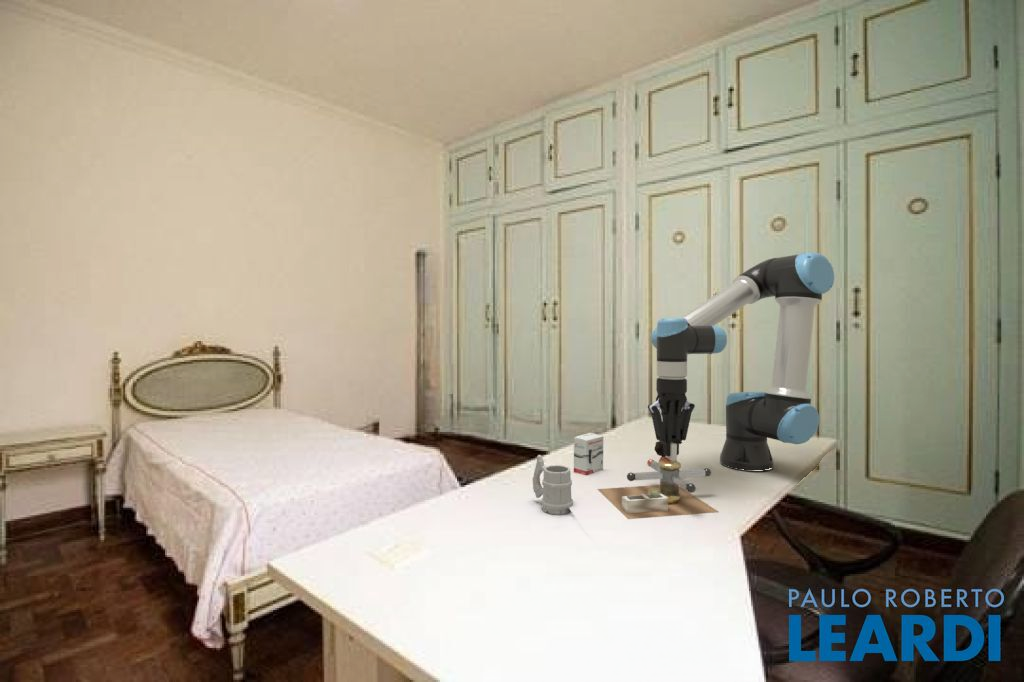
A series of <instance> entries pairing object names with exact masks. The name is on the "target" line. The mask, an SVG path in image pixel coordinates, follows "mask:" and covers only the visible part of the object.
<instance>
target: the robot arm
mask: <svg viewBox="0 0 1024 682" xmlns="http://www.w3.org/2000/svg"><path fill="white" fill-rule="evenodd" d="M834 283H835V272H834V268H833V266H832V264H831V262H830V261H829V259H828V258H827V257H826V256H824V255H823V254H821V253H818V252H808V253H806V252H802V253H798V254H792V255H787V256H780V257H773V258H768V259H766V260H763V261H761V262H760V263H758V264H755V265H754V266H752V267H751V268H749V269H747V270H745V271H743V272H742V273H741V274H738V275H737V276H736V277H735V278H734V279H733V280H732V283H731V284H730V285H728V286H727V287H725V288H724V289H722V290H721V291H718V293H716V294H714V295H713V296H711V297H710V298H708V299H707V300H705V301H704V302H702V303H700V304H698V306H696V307H694V308H693V309H692V310H690V311H689V312H687V313H686V314H684V315H682V316H681V317H677V318H676V317H667V318H665V317H664V318H662V317H661V318H660V319H658V320H657V323H656V328H654V329H653V331H652V333H651V336H650V338H651V344H652V346H653V347H654V349H656V376H658V377H657V378H656V384H655V385H656V389H655V390H656V392H657V396H656V397H655V402H653V403H652V404H648V405H647V409H648V411H649V412H650V414H651V419H652V424H653V428H654V433H655V434H654V435H655V439H656V440H657V441H658V442H659V441H661V442H663V454H664V455H665V456H666V458H668V459H670V460H673V461H677V460H678V459H677V458H678V456H679V454H680V445H681V444H682V443H683V441H686V440H687V437H688V430H689V427H690V421H691V417H692V412H694V409H695V407H696V406H695V403H691V402H689V400H688V397H687V396H686V393H687V391H688V379H687V378H686V377H687V376H688V355H704V354H705V355H707V354H708V355H713V354H719V353H721V352H723V351H724V350H725V348H726V346H727V344H728V335H727V333H726V331H725V330H724V329H723V328H722V326H718V324H720V323H721V322H722V321H724V320H725V319H727V318H728V317H729V316H731V315H733V314H734V313H736V312H738V310H740V309H742V308H743V307H744V306H746V305H748V304H749V305H752V304H755V303H757V302H758V301H760V300H763V299H765V298H772V297H773V298H774V300H775V302H776V303H778V305H779V314H778V323H777V332H776V333H777V334H776V340H775V341H776V343H775V352H774V360H773V369H772V379H771V387H770V388H768V389H766V390H765V391H743V392H731V393H729V394H727V396H726V401H725V403H726V404H725V432H726V433H725V442H724V443H723V446H722V450H721V452H720V455H719V463H720V462H721V463H722V464H724V465H726V466H729V467H732V468H737V469H744V470H765V469H769V468H772V467H773V468H774V459H773V456H772V453H771V450H770V446H769V444H768V439H772V440H776V441H780V442H782V443H783V444H784V443H785V444H786V443H787V444H792V445H801V444H804V443H807V442H808V441H810V439H812V438H813V437H814V435H815V434H816V433H817V430H818V428H819V424H820V414H819V413H818V410H817V408H816V407H815V406H814V405H812V403H811V402H812V397H811V395H809V393H807V391H806V390H807V384H808V383H807V382H808V373H809V363H810V352H811V344H812V334H813V324H814V316H815V315H814V314H815V308H816V306H818V305H820V304H821V303H822V301H823V300H822V299H823V295H824V294H827V292H830V290H831V288H833V286H834ZM677 462H678V461H677ZM721 463H720V464H721ZM722 464H721V465H722ZM724 465H723V466H724ZM726 466H725V467H726ZM729 467H728V468H729ZM732 468H731V469H732ZM737 469H736V470H737Z"/></svg>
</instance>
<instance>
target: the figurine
mask: <svg viewBox="0 0 1024 682" xmlns="http://www.w3.org/2000/svg"><path fill="white" fill-rule="evenodd" d="M654 451H655V453H656V454H657V456H660V458H659V460H658V462H659V461H661V460H662V457H666V456H665V455H664V454H663V442H661V441H659V440H658V441H656V442H655V445H654Z"/></svg>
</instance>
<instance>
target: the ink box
mask: <svg viewBox="0 0 1024 682" xmlns="http://www.w3.org/2000/svg"><path fill="white" fill-rule="evenodd" d="M603 470H604V436H603V435H601V434H597V433H593V432H588V433H584V434H581V435H577V436H574V438H573V473H576V474H580V475H583V476H589V475H592V474H594V473H597V472H600V471H603Z"/></svg>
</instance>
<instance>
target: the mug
mask: <svg viewBox="0 0 1024 682" xmlns="http://www.w3.org/2000/svg"><path fill="white" fill-rule="evenodd" d="M535 463H536V464H535V468H534V472H533V477H532V489H533V493H534V494H535V497H536V498H537V499H539V498H541V497H542V498H541V501H540V503H541V506H542V511H543V512H545V513H548V514H550V515H556V516H557V515H558V516H559V515H567V514H569V513H571V512H572V510H571V509H570V508H571V507H573V505H574V501H573V500H574V499H572V484H573V483H572V482H573V480H572V478H571V468H570V467H569V466H565V465H561V464H554V465H553V464H551V465H547V466H546V465H545V462H544V458H543V456H542V455H541V454H538V455H537V456H536V462H535ZM542 473H543V478H542V482H541V477H540V476H541V474H542Z"/></svg>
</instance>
